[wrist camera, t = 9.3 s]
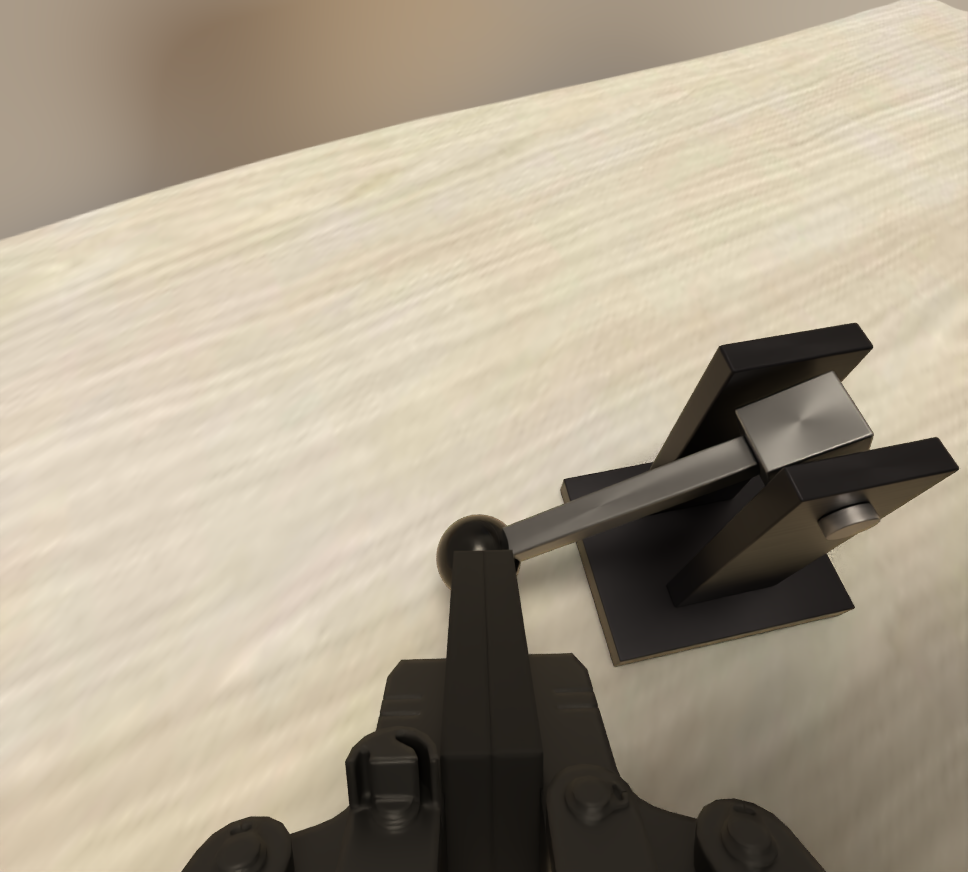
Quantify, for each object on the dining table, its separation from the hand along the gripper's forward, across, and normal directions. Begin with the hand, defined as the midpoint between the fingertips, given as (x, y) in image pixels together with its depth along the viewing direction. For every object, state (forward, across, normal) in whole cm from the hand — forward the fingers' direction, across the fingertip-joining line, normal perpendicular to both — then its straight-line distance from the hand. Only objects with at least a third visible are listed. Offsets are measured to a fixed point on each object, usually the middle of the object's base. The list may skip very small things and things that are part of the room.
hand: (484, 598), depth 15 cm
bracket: (+10, +9, -4) cm, 14 cm away
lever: (+5, +5, 0) cm, 7 cm away
